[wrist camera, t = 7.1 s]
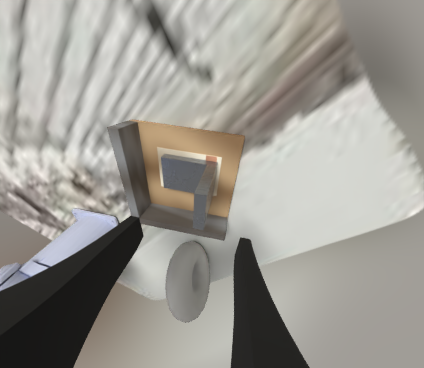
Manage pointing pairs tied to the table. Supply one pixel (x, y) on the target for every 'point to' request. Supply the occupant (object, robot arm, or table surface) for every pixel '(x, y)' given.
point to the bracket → (191, 182)
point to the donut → (187, 281)
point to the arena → (153, 179)
